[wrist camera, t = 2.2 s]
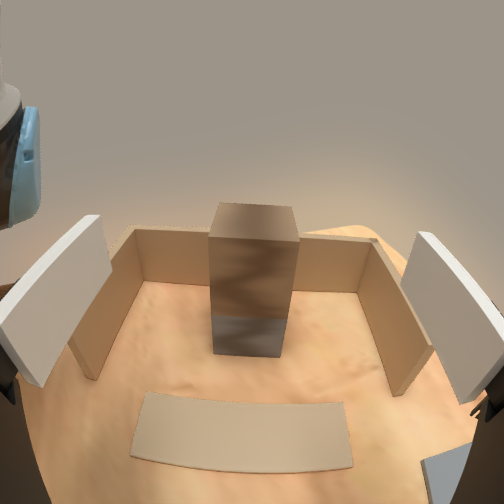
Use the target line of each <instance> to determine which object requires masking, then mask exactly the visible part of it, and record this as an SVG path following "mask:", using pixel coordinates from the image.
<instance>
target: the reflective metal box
mask: <svg viewBox="0 0 504 504" xmlns="http://www.w3.org/2000/svg"><path fill="white" fill-rule="evenodd" d="M299 245H300V240H299V235H298V231H297V228H296V223H295V219H294V215H293V211H292V207H287V206H273V205H256V204H238V203H237V204H236V203H219V206H218V209H217V212H216V215H215V218H214V221H213V223H212V226H211V229H210V232H209V235H208V253H209V279H210V300H211V319H212V335H213V350H214V354H219V355H233V356H250V357H274V358H280V355H281V350H282V345H283V339H284V334H285V329H286V323H287V318H288V312H289V307H290V301H291V295H292V289H293V283H294V277H295V271H296V265H297V258H298V252H299Z"/></svg>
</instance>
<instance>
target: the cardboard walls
mask: <svg viewBox="0 0 504 504" xmlns="http://www.w3.org/2000/svg"><path fill="white" fill-rule="evenodd" d="M210 229H211V228H199V227H178V226H177V227H176V226H153V225H130V226H129V227H128V228H127V229H126V231H125V232H124V233H123V234H122V235H121V236H120V238H119V239H118V240H117V241H116V243H115V244H114V245H113V246H112V248H111V249H110V250H109V251H108V253H109V258H110V262H111V266H112V270H113V271H112V273H111V274H110V275H109V277H108V278H107V280H106V281H105V283H104V284H103V286H102V287H101V289H100V290H99V292H98V293H97V295H96V296H95V298H94V300H93V301H92V303H91V304H90V306H89V307H88V309H87V310H86V312H85V314H84V315H83V317H82V319H81V320H80V322H79V323H78V325H77V327H76V328H75V330H74V332H73V333H72V335H71V337H70V339H69V340H68V342H67V343H68V345H69V347H70V349H71V351H72V352H73V354H74V356H75V358H76V359H77V361H78V363H79V365H80V366H81V368H82V370H83V371H84V373H85V375H86V376H87V378H89V379H93V380H97V379H98V376H99V374H100V371H101V369H102V367H103V364H104V362H105V360H106V358H107V355H108V353H109V351H110V349H111V346H112V344H113V342H114V340H115V338H116V336H117V333H118V331H119V329H120V327H121V325H122V323H123V321H124V319H125V317H126V315H127V312H128V310H129V308H130V306H131V304H132V302H133V300H134V298H135V296H136V294H137V293H138V291H139V289H140V287H141V285H142V283H143V281H144V280H145V281H156V282H168V283H180V284H193V285H207V286H210V279H209V253H208V235H209V232H210ZM298 235H299V240H300V245H299V252H298V258H297V265H296V271H295V277H294V283H293V289H292V290H296V291H323V292H357V294H358V297H359V299H360V302H361V305H362V307H363V310H364V312H365V315H366V318H367V320H368V323H369V326H370V329H371V331H372V334H373V337H374V340H375V343H376V346H377V348H378V351H379V354H380V357H381V360H382V363H383V366H384V369H385V372H386V376H387V379H388V382H389V385H390V388H391V392H392V395H393V397H394V396H400V395H403V394H404V392H405V391H406V390H407V388H408V387H409V386H410V385H411V383H412V382H413V381H414V379H415V378H416V376H417V375H418V374H419V372H420V371H421V370H422V368H423V367H424V365H425V364H426V362H427V361H428V359H429V358H430V356H431V355H432V353H433V352H434V350H435V349H434V347H433V345H432V343H431V341H430V339H429V337H428V335H427V333H426V331H425V329H424V327H423V325H422V324H421V322H420V320H419V318H418V316H417V314H416V313H415V311H414V309H413V307H412V305H411V304H410V302H409V300H408V298H407V297H406V295H405V293H404V291H403V290H402V288H401V286H400V282H401V280H402V278H401V276H400V274H399V273H398V271H397V269H396V268H395V266H394V265H393V263H392V262H391V260H390V258H389V257H388V255H387V254H386V252H385V251H384V249H383V248H382V246H381V245H380V243H379V242H378V240H377V239H373V238H361V237H348V236H334V235H320V234H306V233H298ZM129 455H130V456H132V457H136V458H140V459H144V460H149V461H153V462H158V463H163V464H169V465H174V466H180V467H187V468H194V469H201V470H210V471H220V472H233V473H254V474H287V473H308V472H321V471H331V470H339V469H347V468H352V467H353V459H352V452H351V445H350V439H349V433H348V427H347V421H346V415H345V409H344V404H343V402H333V403H311V404H262V403H240V402H225V401H214V400H204V399H195V398H187V397H179V396H172V395H166V394H160V393H154V392H148V391H146V394H145V397H144V401H143V404H142V408H141V411H140V415H139V418H138V422H137V426H136V430H135V433H134V437H133V441H132V445H131V449H130V453H129Z"/></svg>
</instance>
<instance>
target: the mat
mask: <svg viewBox="0 0 504 504" xmlns="http://www.w3.org/2000/svg"><path fill="white" fill-rule="evenodd" d="M471 445H472V442H470V443H468V444H465V445H463V446H460V447H458V448H455V449H453V450H450V451H447V452H444V453H442V454H439V455H436V456H433V457H430V458H426V459H424V460H422V461H421V465H422V469H423V474H424V478H425V483H426V488H427V493H428V498H429V504H450V502H451V500H452V497H453V495H454V493H455V490H456V488H457V485H458V483H459V480H460V478H461V475H462V472H463V469H464V467H465V464H466V461H467V458H468V455H469V452H470V448H471Z"/></svg>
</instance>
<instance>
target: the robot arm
mask: <svg viewBox="0 0 504 504" xmlns="http://www.w3.org/2000/svg"><path fill="white" fill-rule="evenodd" d="M0 9H1V0H0ZM0 11H1V10H0ZM1 64H2V63H1V47H0V230H3V229H6V228H11V227H12V226H13V225H14V224H17V223H20V222H22V221H25V220H27V219H30V218H31V217H33V216H34V214H36V212H37V210H38V209H39V206H40V199H41V175H40V174H41V173H40V120H39V113H38V109H37V108H36V107H28V106H27V107H26V108H24V109H22V103H21V96H20V92H19V91H18V89H16V88H15V87H13V86H10V85H8V84H5V83H4V82H3V74H2V65H1ZM112 271H113V270H112V266H111V262H110V258H109V253H108V249H107V245H106V240H105V235H104V230H103V225H102V219H101V215H86V216H85V217H83V218H82V219H81V220H80V221H79V222H78V223H77V224H75V225H74V226H73V227H72V228H71V229H70V230H69V231H68V232H67V233H66V234H64V235H63V236H62V237H61V238H60V239H59V240H58V241H57V242H56V243H55V244H54V245H53V246H52V247H51V248H50V249H49V250H48V251H47V252H46V253H45V254H44V255H43V256H42V257H41V258H40V259H39V260H38V261H37V262H36V263H35V264H34V265H33V266H32V267H31V268H30V269H29V270H28V271H27V272H26V273H25V274H24V275H23V276H22V277H21V278H20V279H18V281H16V282H15V284H14V285H13V286H12V287H11V288H10V291H7V293H6V294H5V295H4V298H1V300H0V504H52V503H51V500H50V498H49V495H48V493H47V490H46V488H45V485H44V482H43V480H42V477H41V474H40V471H39V468H38V465H37V462H36V459H35V455H34V452H33V448H32V445H31V441H30V437H29V433H28V429H27V424H26V420H25V415H24V410H23V405H22V399H21V393H20V386H19V383H18V380H17V379H16V377H15V376H16V374H17V372H18V371H19V372H20V374H21V375H22V376H23V378H24V379H25V380H26V382H28V383H30V384H33V385H35V386H38V387H40V388H43V387H44V385H45V383H46V381H47V379H48V377H49V375H50V373H51V371H52V369H53V367H54V365H55V364H56V362H57V360H58V358H59V356H60V354H61V353H62V351H63V349H64V347H65V346H66V344H67V342H68V340H69V339H70V337H71V335H72V333H73V332H74V330H75V328H76V327H77V325H78V323H79V322H80V320H81V319H82V317H83V315H84V314H85V312H86V310H87V309H88V307H89V306H90V304H91V303H92V301H93V300H94V298H95V296H96V295H97V293H98V292H99V290H100V289H101V287H102V286H103V284H104V283H105V281H106V280H107V278H108V277H109V275H110V274H111V273H112ZM400 286H401V288H402V290H403V291H404V293H405V295H406V297H407V298H408V300H409V302H410V304H411V305H412V307H413V309H414V311H415V313H416V314H417V316H418V318H419V320H420V322H421V324H422V325H423V327H424V329H425V331H426V333H427V335H428V337H429V339H430V341H431V343H432V345H433V347H434V349H435V351H436V353H437V355H438V357H439V359H440V361H441V363H442V366H443V368H444V370H445V372H446V374H447V377H448V379H449V381H450V383H451V386H452V388H453V390H454V393H455V395H456V397H457V400H458V402H459V405H461V404H464V403H467V402H471V401H474V400H475V399H476V398H477V397H478V396H479V395H480V394H481V393H482V392H483V390H484V389H485V390H486V393H487V396H486V397H485V398H484V399H483V400H482V401H481V402H480V403H479V404H478V405H477V406H476V407H475V408H474V409H473V410H472V412H471V414H470V416H473V415H474V414H475V413H476V412H477V411H478V410H480V413H479V414H478V415H477V416H476V417H475V418H477V419H478V423H477V427H476V431H475V434H474V438H473V441H472V445H471V448H470V452H469V455H468V458H467V461H466V464H465V467H464V469H463V472H462V475H461V478H460V480H459V483H458V485H457V488H456V490H455V493H454V495H453V497H452V500H451V502H450V504H504V317H503V315H502V314H501V313H500V312H499V310H498V308H497V307H496V306H495V304H494V303H493V302H492V301H491V300H490V299H489V298H488V297H487V295H486V294H485V293H484V292H483V290H482V289H481V288H480V287H479V285H478V284H477V283H476V282H475V280H474V279H473V278H472V277H471V276H470V275H469V273H468V272H467V271H466V270H465V269H464V268H463V266H462V265H461V264H460V263H459V262H458V261H457V260H456V259H455V257H454V256H453V255H452V254H451V253H450V252H449V251H448V250H447V249H446V248H445V247H444V245H443V244H442V243H441V242H440V241H439V240H438V239H437V238H436V237H435V236H434V235H433V234H432V233H429V232H420V231H419V232H417V235H416V238H415V241H414V244H413V248H412V251H411V254H410V257H409V260H408V263H407V266H406V269H405V271H404V274H403V277H402V280H401V282H400Z"/></svg>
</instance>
